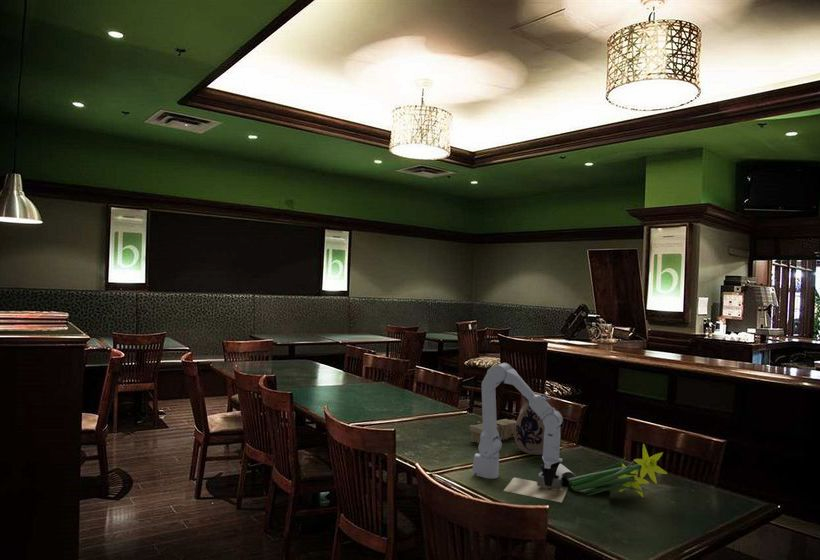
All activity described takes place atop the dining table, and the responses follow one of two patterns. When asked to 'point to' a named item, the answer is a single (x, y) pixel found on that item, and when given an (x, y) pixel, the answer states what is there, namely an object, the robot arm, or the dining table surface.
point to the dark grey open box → (555, 484)
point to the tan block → (503, 427)
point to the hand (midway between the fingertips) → (549, 483)
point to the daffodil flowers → (619, 476)
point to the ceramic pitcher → (529, 429)
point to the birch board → (535, 490)
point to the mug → (565, 472)
